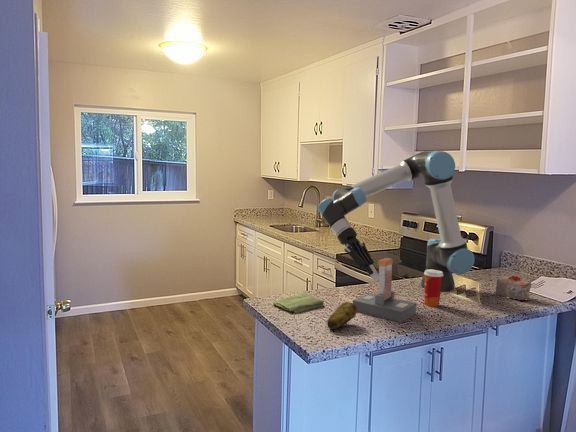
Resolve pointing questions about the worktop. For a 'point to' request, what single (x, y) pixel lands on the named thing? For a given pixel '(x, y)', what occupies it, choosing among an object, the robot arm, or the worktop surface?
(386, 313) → the switch block
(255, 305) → the worktop surface
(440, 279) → the paper cup
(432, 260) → the robot arm
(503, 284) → the food item
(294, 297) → the washcloth
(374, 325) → the worktop surface
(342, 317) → the potato
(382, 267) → the lever
